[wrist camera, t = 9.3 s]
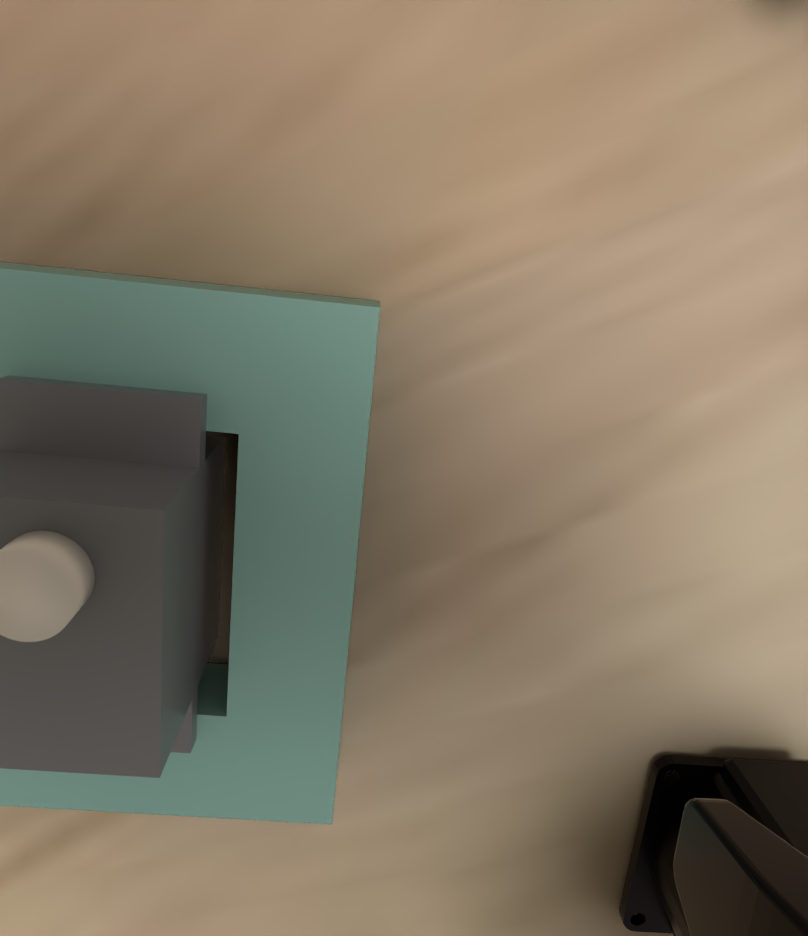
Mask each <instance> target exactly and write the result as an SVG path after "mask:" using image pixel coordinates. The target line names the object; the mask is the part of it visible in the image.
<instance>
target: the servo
mask: <svg viewBox="0 0 808 936" xmlns="http://www.w3.org/2000/svg"><path fill="white" fill-rule="evenodd" d="M206 414H207V394H202V393H191V392H181V391H170V390H160V389H149V388H139V387H128V386H117V385H107V384H96V383H86V382H75V381H64V380H54V379H43V378H33V377H22V376H11V375H9V376H6V377H3V378H0V768H2V769H19V770H35V771H52V772H68V773H85V774H102V775H118V776H135V777H151V778H160V776H161V774H162V772H163V769H164V767H165V764H166V762H167V759H168V757H169V755H170V752H176V753H191V752H192V749H193V746H194V744H195V741H196V734H197V702H198V684H199V682H200V679H201V677H202V674H203V672H204V670H205V667H206V665H207V662H208V660H209V657H210V655H211V652H212V650H213V648H214V645H215V643H216V640H217V638H218V622H219V597H220V571H221V545H222V519H223V494H224V468H225V442H226V436H220V435H209V434H206Z"/></svg>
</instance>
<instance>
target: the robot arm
mask: <svg viewBox="0 0 808 936" xmlns="http://www.w3.org/2000/svg"><path fill="white" fill-rule="evenodd" d="M672 770H675V771H674V773H672V774H671V775H667V776H665V774H666V773H667V772H669V771H672ZM619 913H620V916H621V918H622V921H623V924H624V925H625V927H626V928H627V929H629V930H631V931H637V932H658V933H672V934H673V936H808V764H807V763H802V762H786V761H771V760H756V759H740V758H732V759H724V758H709V757H693V756H678V755H666V756H662V757H660V758H658V759H657V760H656V761H655V762H654V764H653V766H652V768H651V773H650V777H649V781H648V786H647V790H646V794H645V799H644V803H643V808H642V812H641V816H640V821H639V825H638V829H637V834H636V838H635V842H634V847H633V851H632V855H631V860H630V864H629V868H628V873H627V877H626V882H625V886H624V890H623V895H622V899H621V903H620V908H619ZM637 913H638V914H637ZM634 914H637V915H634Z"/></svg>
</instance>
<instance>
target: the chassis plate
mask: <svg viewBox="0 0 808 936" xmlns="http://www.w3.org/2000/svg"><path fill="white" fill-rule="evenodd" d="M379 315H380V301H375V300H365V299H356V298H346V297H336V296H327V295H317V294H307V293H298V292H288V291H278V290H269V289H259V288H250V287H240V286H230V285H221V284H211V283H201V282H192V281H182V280H173V279H163V278H153V277H144V276H134V275H124V274H115V273H105V272H96V271H86V270H76V269H67V268H57V267H47V266H38V265H28V264H19V263H9V262H0V378H3V377H6V376H9V375H11V376H22V377H33V378H43V379H54V380H64V381H75V382H86V383H96V384H107V385H117V386H128V387H139V388H149V389H160V390H170V391H181V392H191V393H202V394H207V414H206V431H211V432H222V433H233V434H239V440H238V463H237V486H236V509H235V532H234V555H233V578H232V601H231V624H230V647H229V664H216V663H207V665H206V667H205V670H204V672H203V674H202V677H201V679H200V682H199V684H198V702H197V734H196V741H195V744H194V746H193V749H192V752H191V753H176V752H170V755H169V757H168V759H167V762H166V764H165V767H164V769H163V772H162V774H161V776H160V778H151V777H135V776H118V775H102V774H85V773H68V772H52V771H35V770H19V769H2V768H0V806H17V807H34V808H52V809H69V810H87V811H104V812H122V813H139V814H157V815H175V816H192V817H210V818H227V819H245V820H262V821H280V822H297V823H315V824H332V821H333V810H334V799H335V788H336V778H337V767H338V756H339V745H340V735H341V724H342V713H343V702H344V692H345V681H346V670H347V659H348V649H349V638H350V627H351V616H352V605H353V595H354V584H355V573H356V562H357V552H358V541H359V530H360V519H361V509H362V498H363V487H364V476H365V466H366V455H367V444H368V433H369V422H370V412H371V401H372V390H373V379H374V369H375V358H376V347H377V336H378V326H379Z"/></svg>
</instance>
